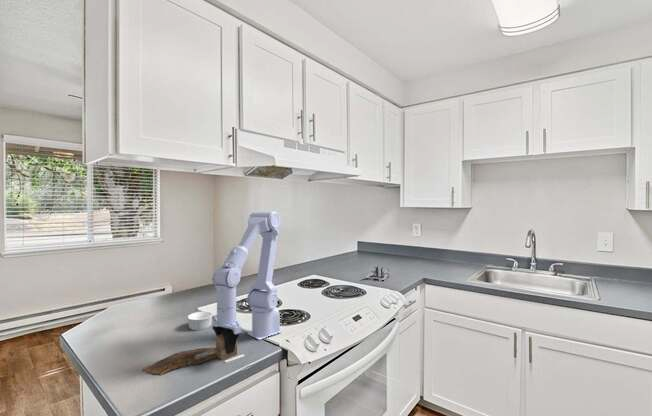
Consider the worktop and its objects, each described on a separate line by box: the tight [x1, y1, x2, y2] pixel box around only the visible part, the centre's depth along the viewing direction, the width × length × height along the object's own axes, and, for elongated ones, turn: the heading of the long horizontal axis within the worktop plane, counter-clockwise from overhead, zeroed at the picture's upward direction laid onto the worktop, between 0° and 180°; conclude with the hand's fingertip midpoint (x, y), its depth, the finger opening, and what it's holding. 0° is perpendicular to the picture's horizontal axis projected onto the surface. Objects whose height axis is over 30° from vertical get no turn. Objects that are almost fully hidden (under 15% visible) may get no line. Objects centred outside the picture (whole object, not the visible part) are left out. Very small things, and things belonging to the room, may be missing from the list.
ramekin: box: [187, 310, 214, 331], centre depth 120 cm, size 9×9×4 cm
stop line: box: [224, 354, 246, 364], centre depth 94 cm, size 6×1×1 cm, turn 134°
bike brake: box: [360, 264, 391, 282], centre depth 197 cm, size 14×7×20 cm
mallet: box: [195, 334, 238, 361], centre depth 94 cm, size 12×4×6 cm, turn 134°
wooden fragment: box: [141, 346, 219, 376], centre depth 95 cm, size 26×11×1 cm, turn 126°
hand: (226, 350), depth 97 cm, fingers closed on mallet, 4 cm apart
